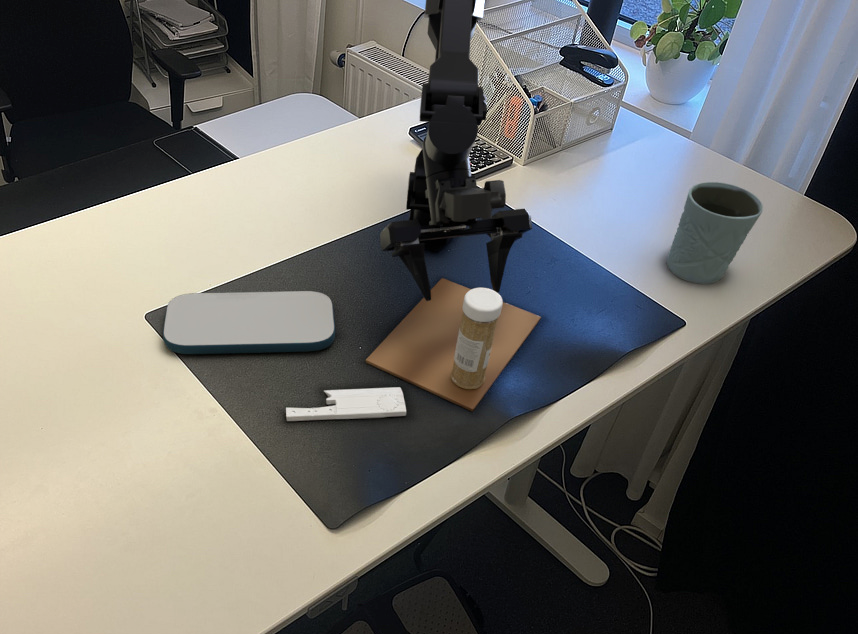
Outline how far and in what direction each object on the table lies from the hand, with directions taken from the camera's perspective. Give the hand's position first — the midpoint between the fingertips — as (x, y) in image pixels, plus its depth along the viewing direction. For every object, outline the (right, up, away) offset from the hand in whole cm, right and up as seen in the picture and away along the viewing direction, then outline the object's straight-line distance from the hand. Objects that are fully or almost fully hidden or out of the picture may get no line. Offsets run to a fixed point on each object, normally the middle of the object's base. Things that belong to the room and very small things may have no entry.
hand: (462, 296), depth 98 cm
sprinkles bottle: (+1, -11, +2) cm, 11 cm away
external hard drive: (-28, -3, +9) cm, 30 cm away
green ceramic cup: (+40, +7, +20) cm, 45 cm away
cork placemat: (0, -5, +7) cm, 9 cm away
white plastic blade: (-15, -14, -1) cm, 21 cm away
